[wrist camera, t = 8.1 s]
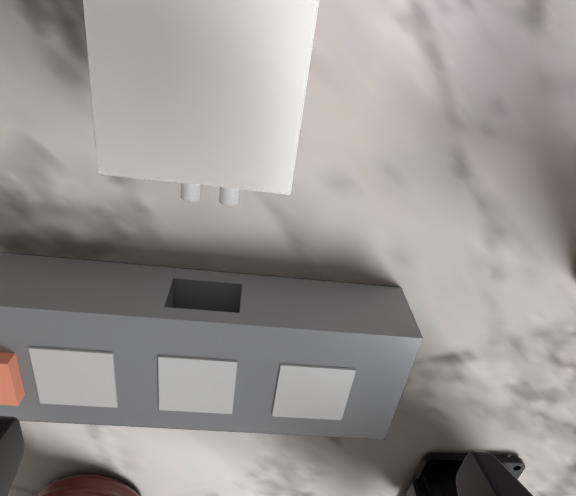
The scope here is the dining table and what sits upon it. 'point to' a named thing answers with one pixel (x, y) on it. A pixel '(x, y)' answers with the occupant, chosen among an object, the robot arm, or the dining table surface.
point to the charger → (200, 90)
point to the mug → (87, 486)
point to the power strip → (200, 349)
